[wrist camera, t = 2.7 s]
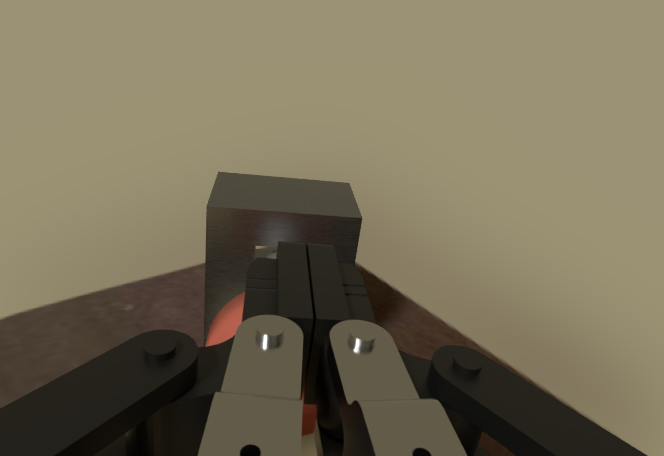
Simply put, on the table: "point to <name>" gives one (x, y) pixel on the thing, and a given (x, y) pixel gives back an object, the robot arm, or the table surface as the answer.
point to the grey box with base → (271, 232)
